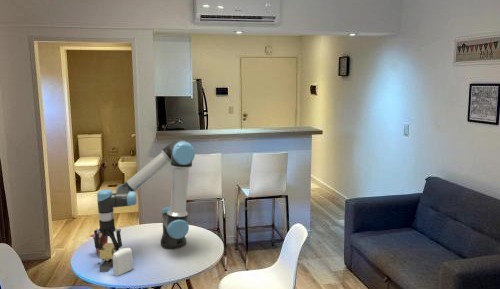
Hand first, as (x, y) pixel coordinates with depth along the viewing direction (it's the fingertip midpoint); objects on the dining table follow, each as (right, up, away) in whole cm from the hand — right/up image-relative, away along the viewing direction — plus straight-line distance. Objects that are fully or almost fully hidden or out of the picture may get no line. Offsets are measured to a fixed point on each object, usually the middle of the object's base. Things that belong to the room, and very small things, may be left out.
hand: (109, 259), depth 219 cm
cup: (-9, -1, +11) cm, 14 cm away
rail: (0, -2, 0) cm, 2 cm away
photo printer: (+10, -4, -8) cm, 14 cm away
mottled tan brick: (0, -1, 0) cm, 1 cm away
